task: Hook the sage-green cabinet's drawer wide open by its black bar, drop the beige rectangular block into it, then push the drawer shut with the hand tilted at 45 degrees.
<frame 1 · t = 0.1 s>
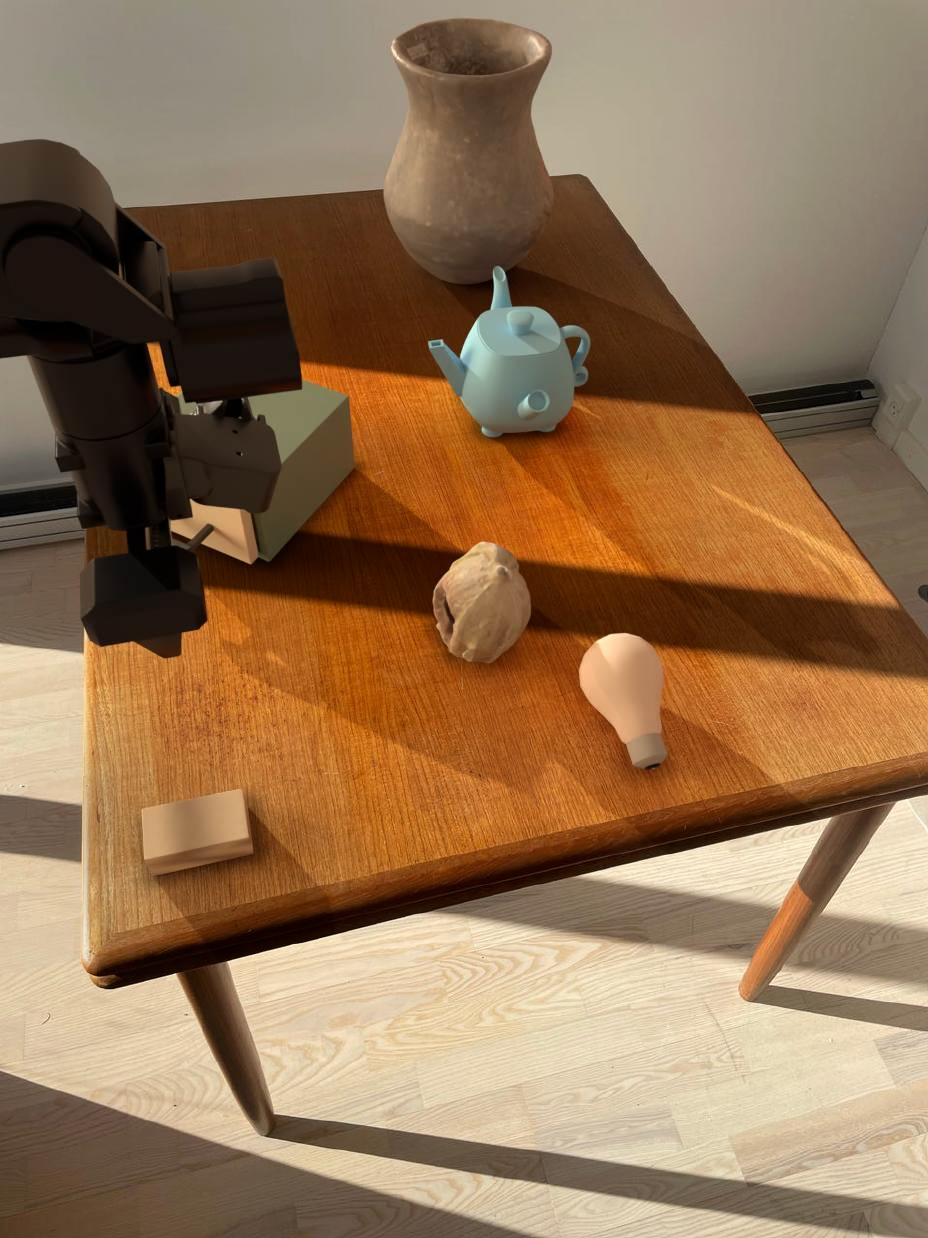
hand: (167, 601, 63), 15 cm above the table, tool pointing down, fingers open, 9 cm apart
vase: (466, 270, 119), on the table
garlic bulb: (478, 641, 81), on the table
beige rectangular block: (201, 840, 69), on the table
cabinet: (254, 488, 92), on the table
drawer: (218, 481, 87), point 4 cm above the table, slide at 0.5 cm
teapot: (507, 412, 101), on the table
light bulb: (623, 721, 76), on the table
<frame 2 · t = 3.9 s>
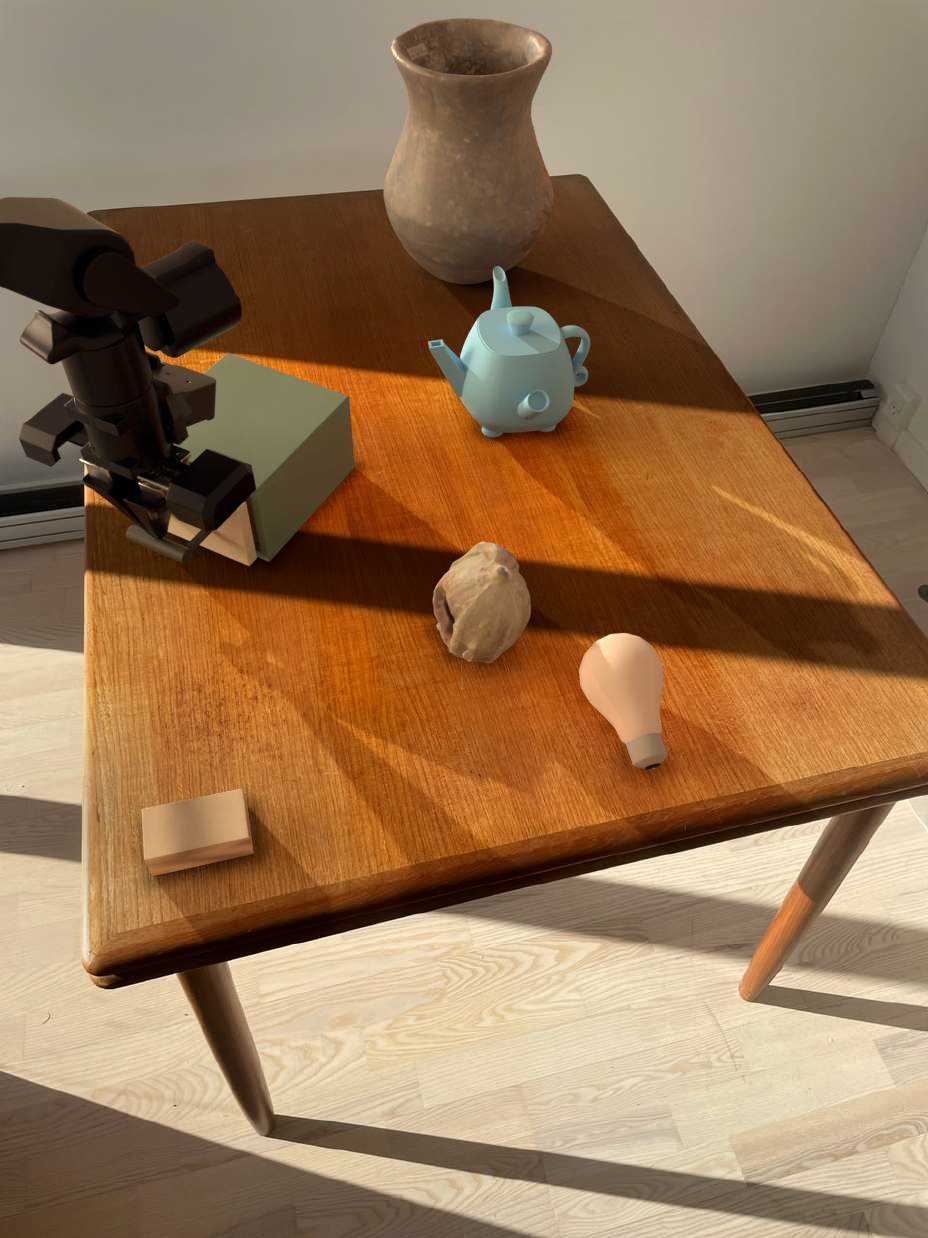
hand: (160, 535, 82), 5 cm above the table, tool pointing down, fingers closed, pressing on drawer
drawer: (217, 483, 86), point 4 cm above the table, slide at 0.7 cm, touching gripper
everything else where it was.
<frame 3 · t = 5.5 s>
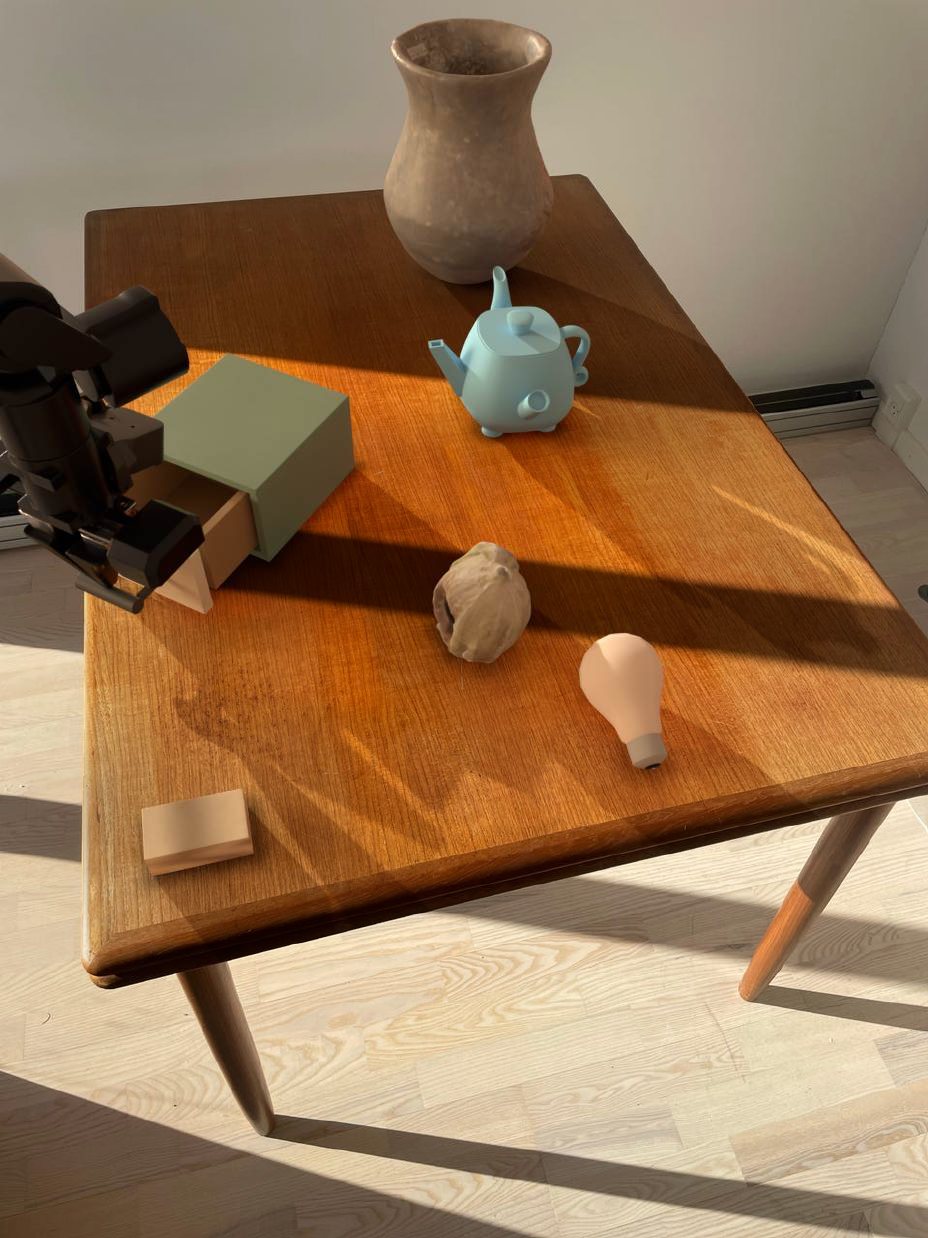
hand: (109, 584, 78), 5 cm above the table, tool pointing down, fingers closed, pressing on drawer
drawer: (172, 527, 83), point 4 cm above the table, slide at 7.1 cm, touching gripper
everything else where it was.
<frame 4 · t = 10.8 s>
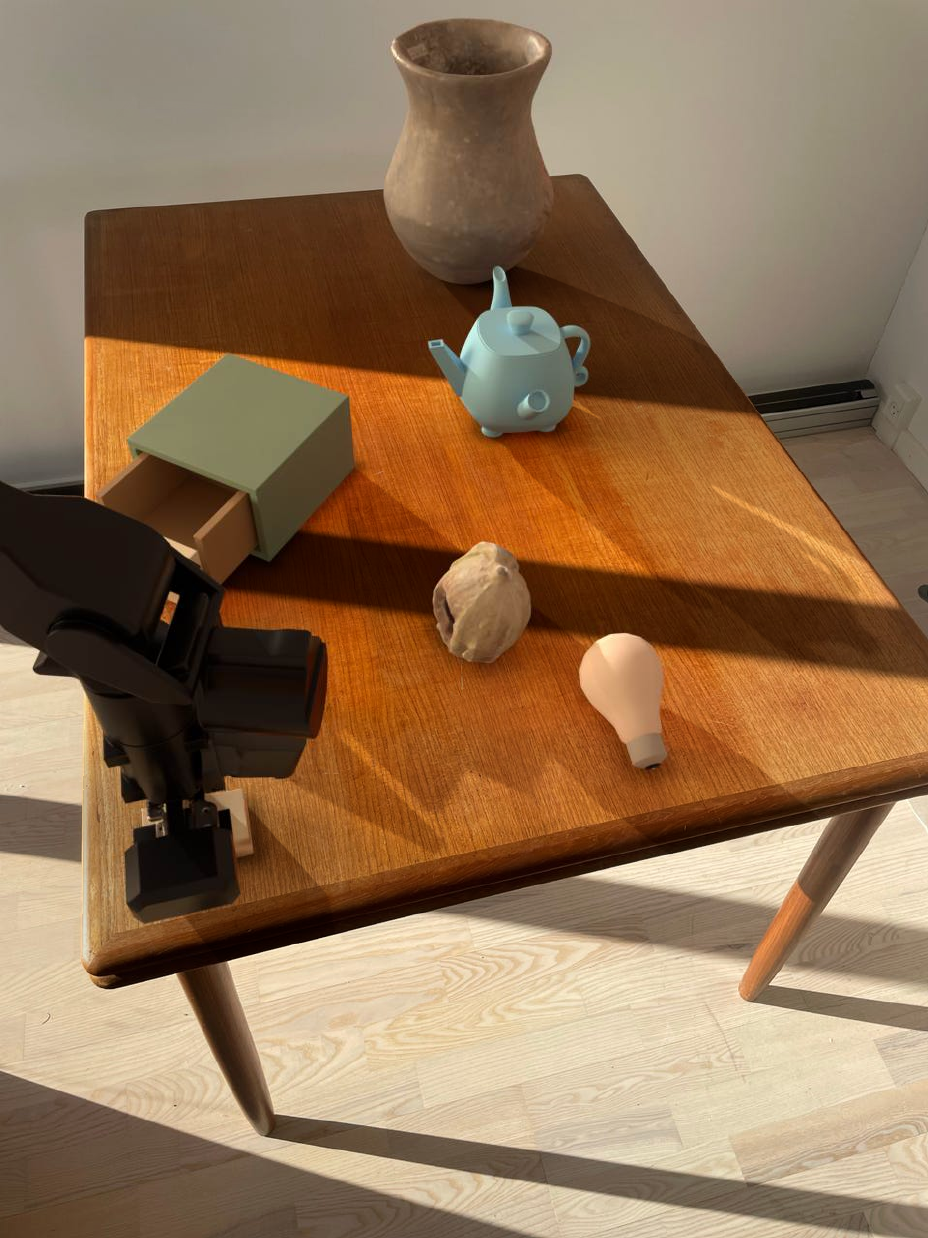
hand: (198, 833, 68), 1 cm above the table, tool pointing down, fingers closed on beige rectangular block, 4 cm apart
beige rectangular block: (201, 840, 69), on the table, touching gripper
drawer: (171, 528, 83), point 4 cm above the table, slide at 7.2 cm
everything else where it was.
when the fingers open (6 cm above the table, at t = 16.3 s): beige rectangular block drops 3 cm, resting on drawer.
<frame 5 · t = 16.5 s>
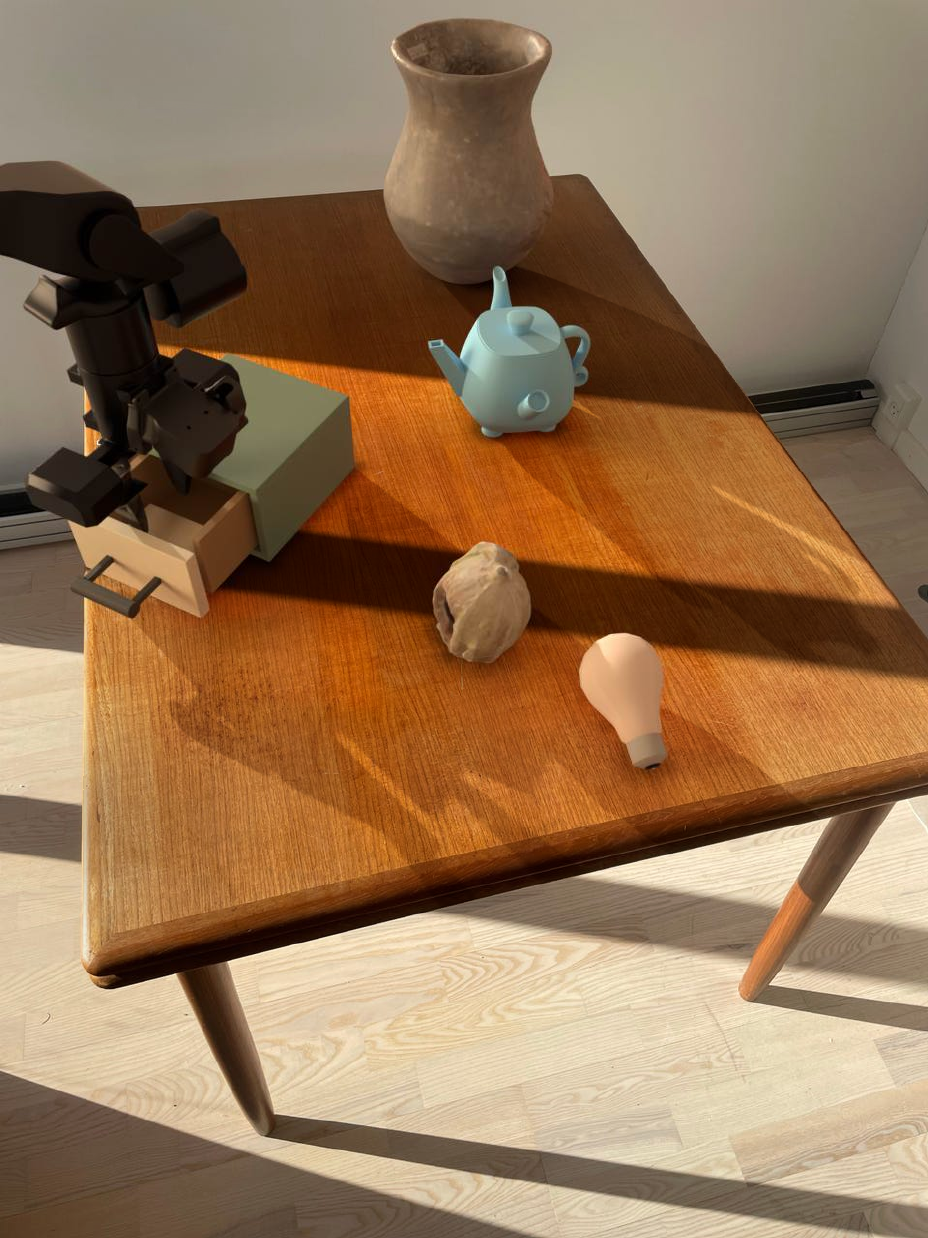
hand: (163, 511, 81), 6 cm above the table, tool pointing down, fingers open, 5 cm apart
beige rectangular block: (173, 551, 84), point 2 cm above the table, touching drawer
drawer: (168, 530, 83), point 4 cm above the table, slide at 7.6 cm, touching beige rectangular block, gripper
everything else where it was.
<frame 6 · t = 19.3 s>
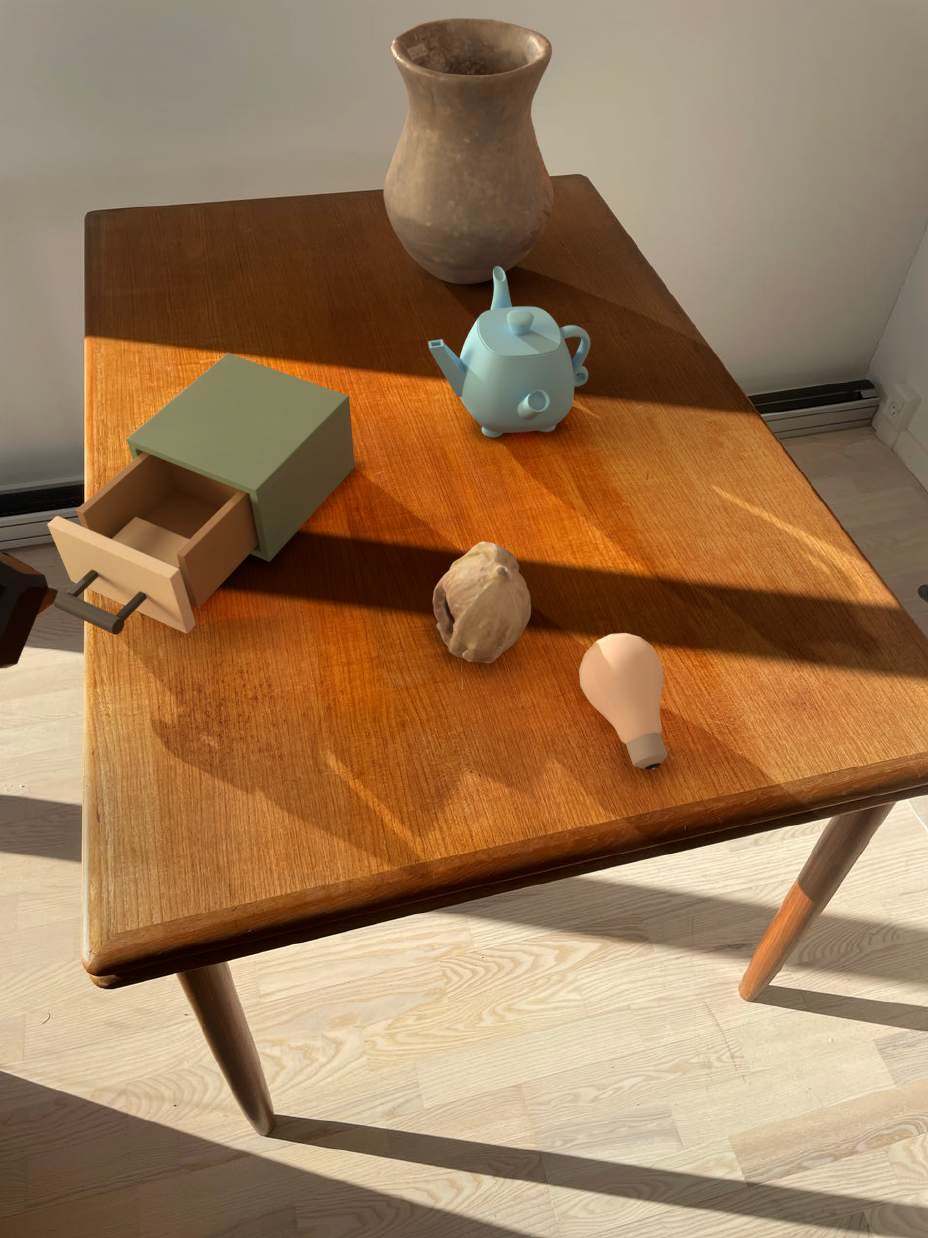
hand: (3, 566, 67), 14 cm above the table, tool tilted 45°, fingers open, 9 cm apart
beige rectangular block: (159, 565, 83), point 2 cm above the table, touching drawer
drawer: (154, 544, 81), point 4 cm above the table, slide at 9.5 cm, touching beige rectangular block
everything else where it was.
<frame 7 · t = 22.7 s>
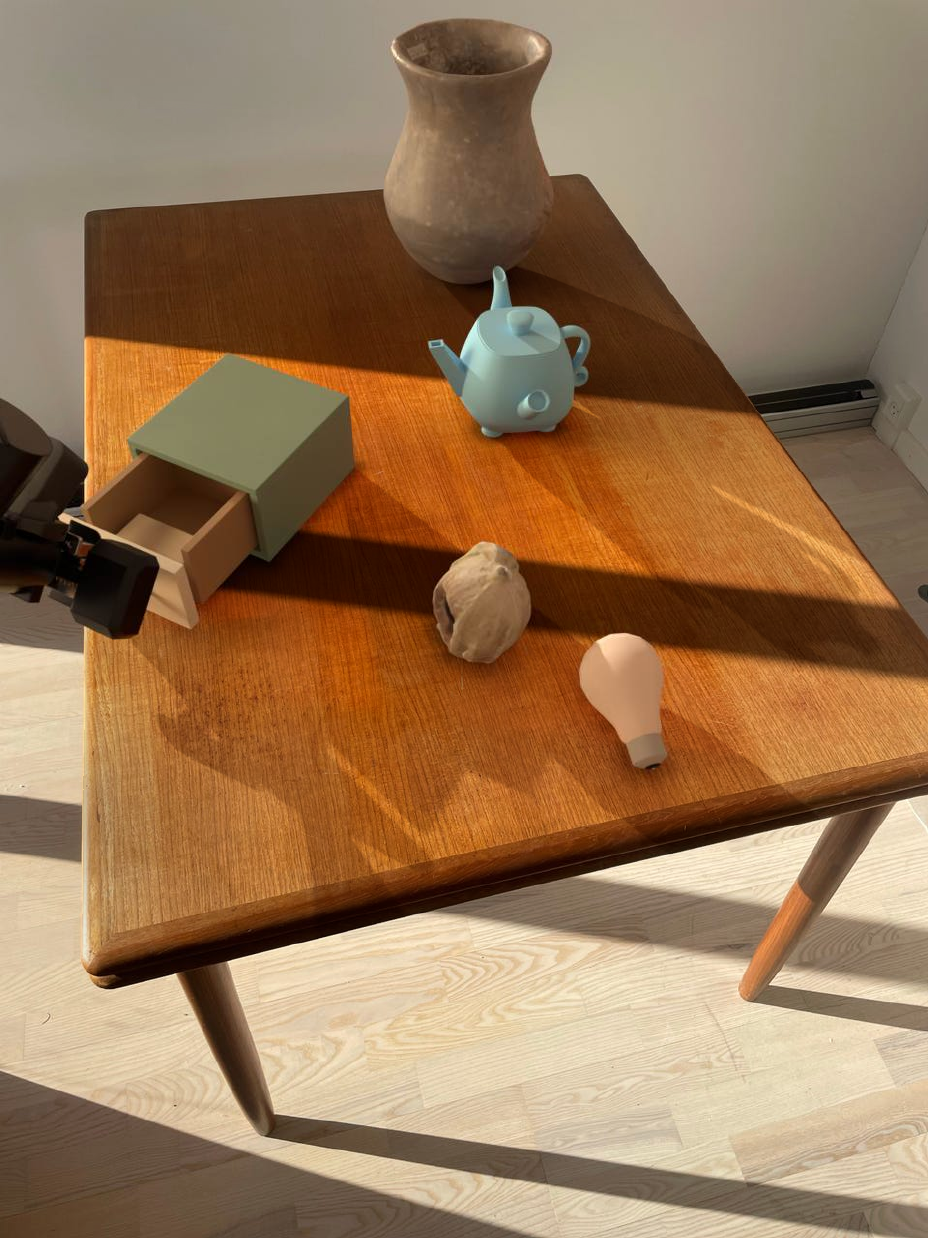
hand: (113, 558, 77), 7 cm above the table, tool tilted 45°, fingers closed, pressing on drawer
drawer: (158, 540, 82), point 4 cm above the table, slide at 8.9 cm, touching beige rectangular block, gripper
everything else where it was.
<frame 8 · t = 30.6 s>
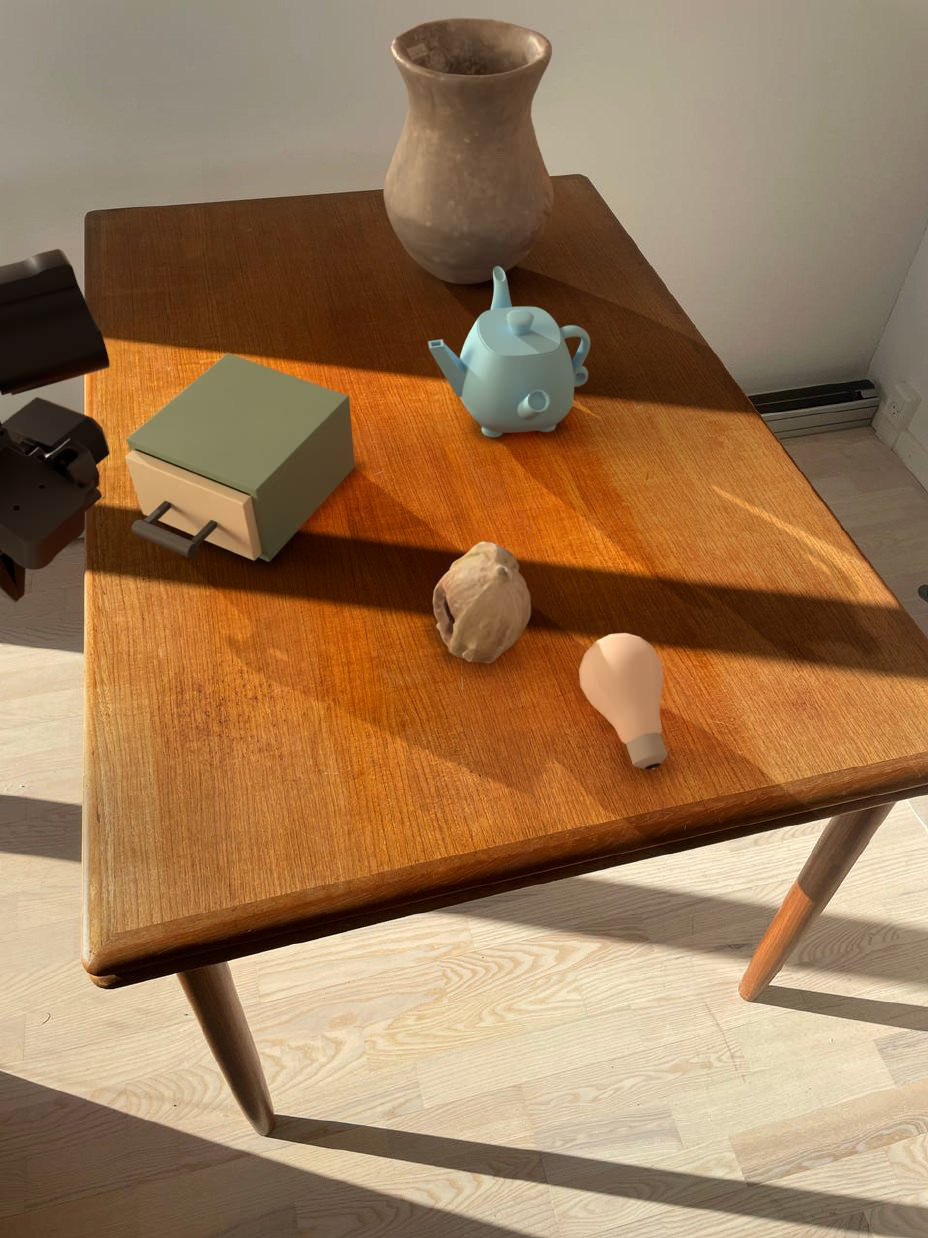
hand: (14, 597, 66), 13 cm above the table, tool pointing down, fingers closed
beige rectangular block: (225, 499, 89), point 2 cm above the table, touching drawer
drawer: (222, 478, 87), point 4 cm above the table, slide at 0.0 cm, touching beige rectangular block
everything else where it was.
at the end: drawer pulled out 9.5 cm at the most during the clip, back to where it started at the end; beige rectangular block inside the target area in the cabinet (3.4 cm from its centre), point 2.0 cm above the cabinet's base; drawer slide at 0.0 cm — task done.
